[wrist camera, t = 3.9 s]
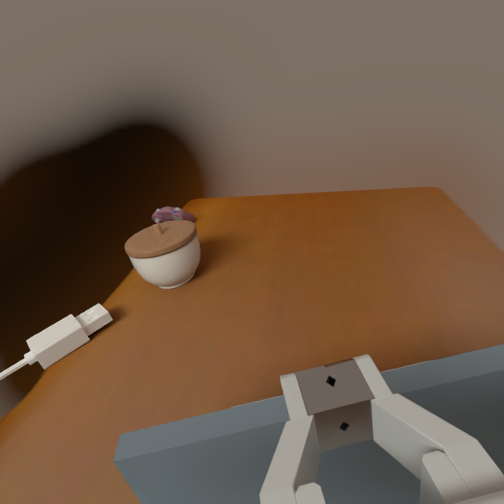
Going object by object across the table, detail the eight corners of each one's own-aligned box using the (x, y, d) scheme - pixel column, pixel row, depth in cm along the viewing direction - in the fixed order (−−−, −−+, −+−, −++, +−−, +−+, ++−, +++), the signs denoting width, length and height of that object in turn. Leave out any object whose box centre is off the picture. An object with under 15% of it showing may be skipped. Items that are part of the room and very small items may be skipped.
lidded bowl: (215, 257, 67) (200, 205, 62) (198, 294, 56) (178, 236, 51) (157, 264, 70) (138, 215, 65) (131, 301, 59) (106, 246, 54)
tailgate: (531, 483, 23) (572, 353, 17) (183, 565, 23) (113, 461, 17) (505, 450, 25) (534, 324, 19) (185, 525, 25) (123, 421, 19)
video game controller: (160, 233, 90) (145, 216, 85) (166, 219, 92) (152, 202, 87) (191, 232, 86) (178, 214, 81) (197, 218, 88) (184, 200, 83)
